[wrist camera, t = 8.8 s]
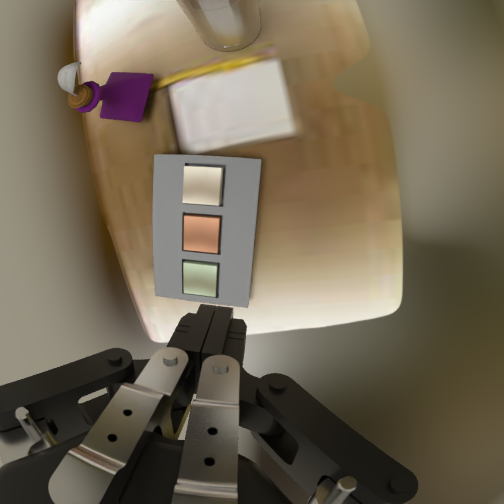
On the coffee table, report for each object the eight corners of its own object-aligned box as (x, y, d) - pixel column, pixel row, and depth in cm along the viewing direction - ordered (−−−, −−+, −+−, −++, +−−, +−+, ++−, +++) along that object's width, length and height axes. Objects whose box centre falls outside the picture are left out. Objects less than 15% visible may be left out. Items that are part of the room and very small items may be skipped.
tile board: (161, 154, 41) (154, 154, 38) (262, 159, 40) (261, 159, 38) (161, 287, 48) (155, 295, 45) (249, 298, 47) (248, 307, 45)
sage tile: (187, 258, 44) (183, 262, 42) (219, 261, 44) (216, 266, 42) (187, 287, 46) (183, 292, 44) (217, 291, 46) (215, 296, 44)
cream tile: (188, 165, 39) (184, 166, 37) (223, 167, 39) (221, 168, 37) (186, 200, 40) (182, 202, 39) (221, 203, 40) (218, 205, 38)
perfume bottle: (149, 124, 39) (81, 112, 22) (110, 119, 39) (34, 111, 22) (161, 78, 37) (100, 43, 20) (121, 76, 37) (51, 49, 20)
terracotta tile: (188, 213, 42) (184, 215, 40) (221, 215, 42) (219, 218, 40) (187, 245, 44) (183, 249, 42) (219, 248, 44) (217, 253, 42)
